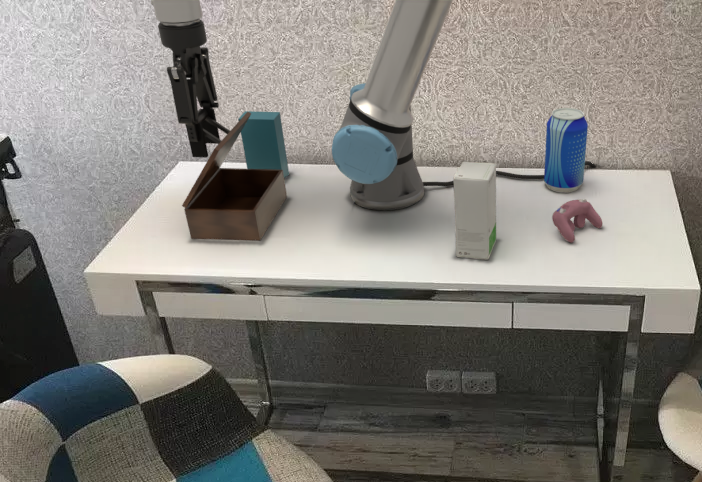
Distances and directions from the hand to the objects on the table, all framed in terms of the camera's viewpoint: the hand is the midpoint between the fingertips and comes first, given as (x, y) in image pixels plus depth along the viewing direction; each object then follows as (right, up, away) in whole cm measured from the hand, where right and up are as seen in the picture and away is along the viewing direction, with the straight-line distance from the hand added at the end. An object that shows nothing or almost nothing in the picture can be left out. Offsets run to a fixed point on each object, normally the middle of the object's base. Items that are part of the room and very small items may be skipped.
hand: (206, 149), depth 148 cm
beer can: (+69, -3, +22) cm, 73 cm away
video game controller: (+70, -15, +4) cm, 72 cm away
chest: (+4, -12, +8) cm, 15 cm away
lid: (+2, -2, +1) cm, 3 cm away
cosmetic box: (+51, -19, -1) cm, 54 cm away
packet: (+5, -1, +24) cm, 25 cm away
